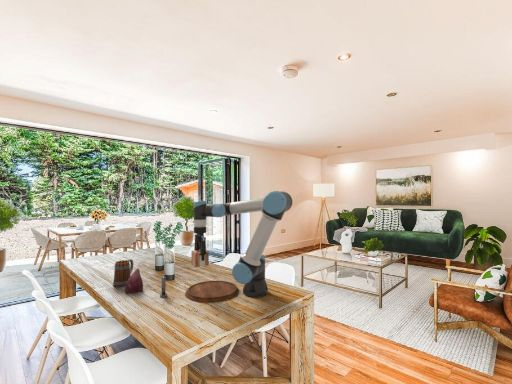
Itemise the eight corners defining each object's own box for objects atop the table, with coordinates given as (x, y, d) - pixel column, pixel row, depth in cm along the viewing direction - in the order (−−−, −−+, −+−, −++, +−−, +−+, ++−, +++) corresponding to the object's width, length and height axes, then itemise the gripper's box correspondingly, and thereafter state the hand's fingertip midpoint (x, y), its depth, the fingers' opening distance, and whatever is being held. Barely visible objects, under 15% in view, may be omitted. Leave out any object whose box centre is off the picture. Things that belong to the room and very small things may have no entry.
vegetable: (137, 292, 170) (141, 268, 175) (145, 294, 164) (149, 268, 168) (121, 292, 163) (125, 267, 167) (128, 294, 156) (133, 267, 161)
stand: (167, 296, 155) (167, 277, 155) (160, 297, 153) (160, 278, 153) (166, 294, 158) (166, 275, 158) (159, 295, 156) (159, 276, 156)
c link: (204, 262, 166) (204, 249, 166) (208, 265, 159) (208, 251, 159) (191, 264, 162) (191, 250, 162) (195, 267, 155) (195, 253, 155)
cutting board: (230, 281, 182) (230, 277, 182) (246, 298, 153) (246, 293, 153) (182, 287, 171) (182, 283, 171) (188, 307, 141) (188, 302, 141)
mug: (123, 287, 170) (123, 264, 170) (109, 286, 172) (109, 263, 172) (139, 280, 185) (139, 258, 185) (125, 279, 187) (125, 257, 187)
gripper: (189, 225, 168) (189, 261, 167) (199, 228, 150) (199, 269, 149) (200, 224, 171) (200, 259, 171) (212, 227, 153) (212, 267, 153)
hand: (200, 264), depth 160 cm, fingers closed on c link, 8 cm apart
